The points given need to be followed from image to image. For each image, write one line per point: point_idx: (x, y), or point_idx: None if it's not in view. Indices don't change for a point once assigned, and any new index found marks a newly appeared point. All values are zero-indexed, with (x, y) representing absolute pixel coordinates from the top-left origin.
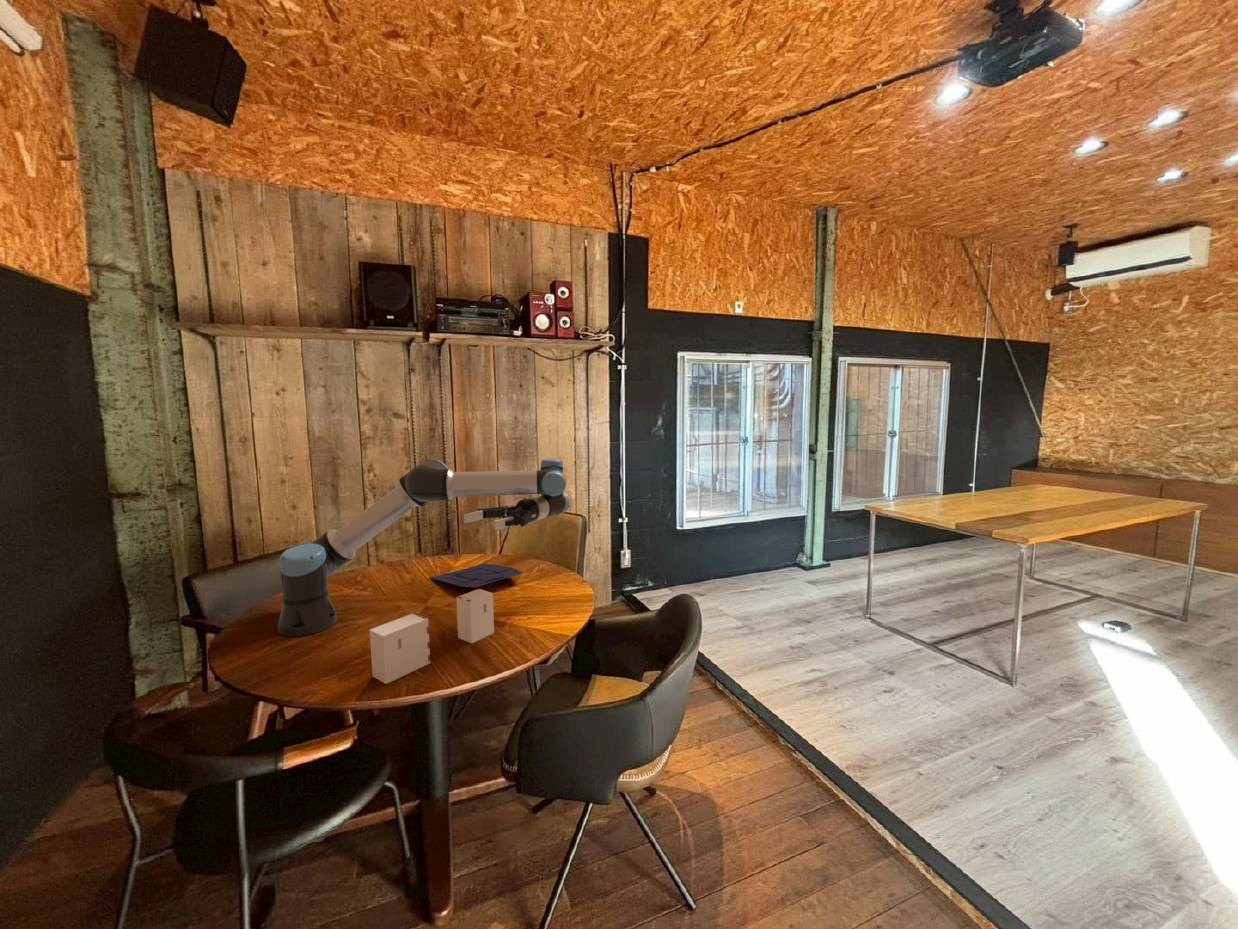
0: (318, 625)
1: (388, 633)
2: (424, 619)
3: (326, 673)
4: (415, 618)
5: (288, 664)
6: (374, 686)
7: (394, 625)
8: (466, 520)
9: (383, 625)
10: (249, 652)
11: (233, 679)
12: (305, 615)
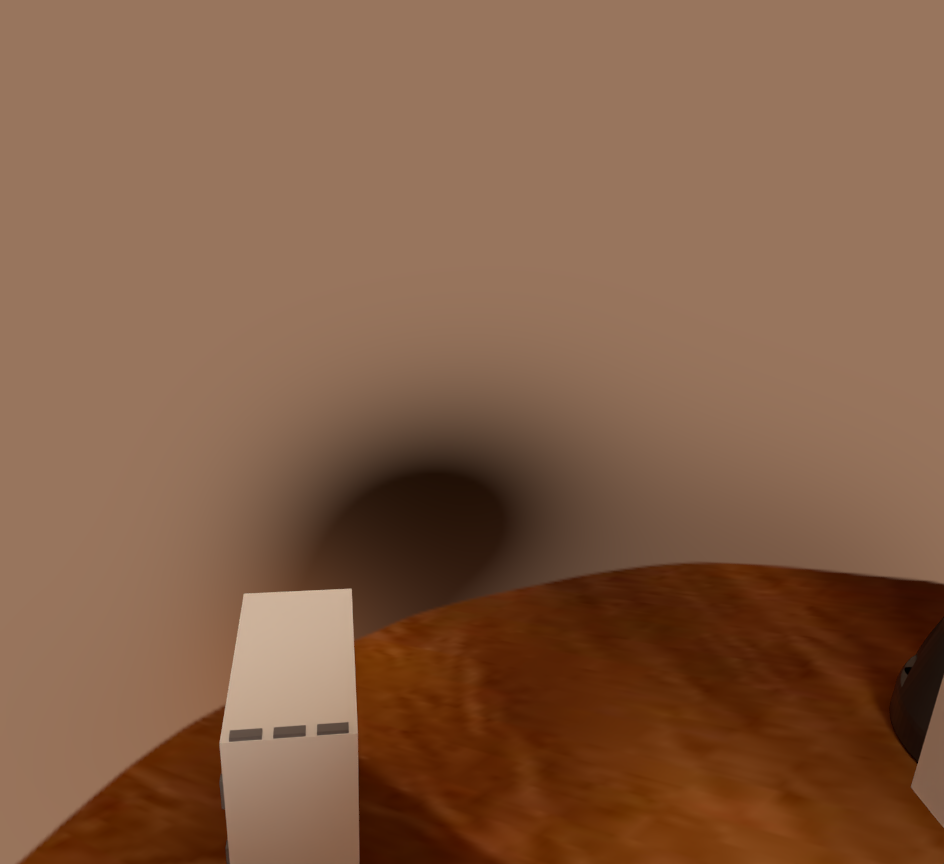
0: (913, 725)
1: (247, 608)
2: (227, 728)
3: (503, 683)
4: (283, 710)
5: (654, 643)
6: None
7: (299, 640)
8: (934, 756)
9: (342, 621)
10: (817, 608)
11: (645, 567)
12: (926, 654)
